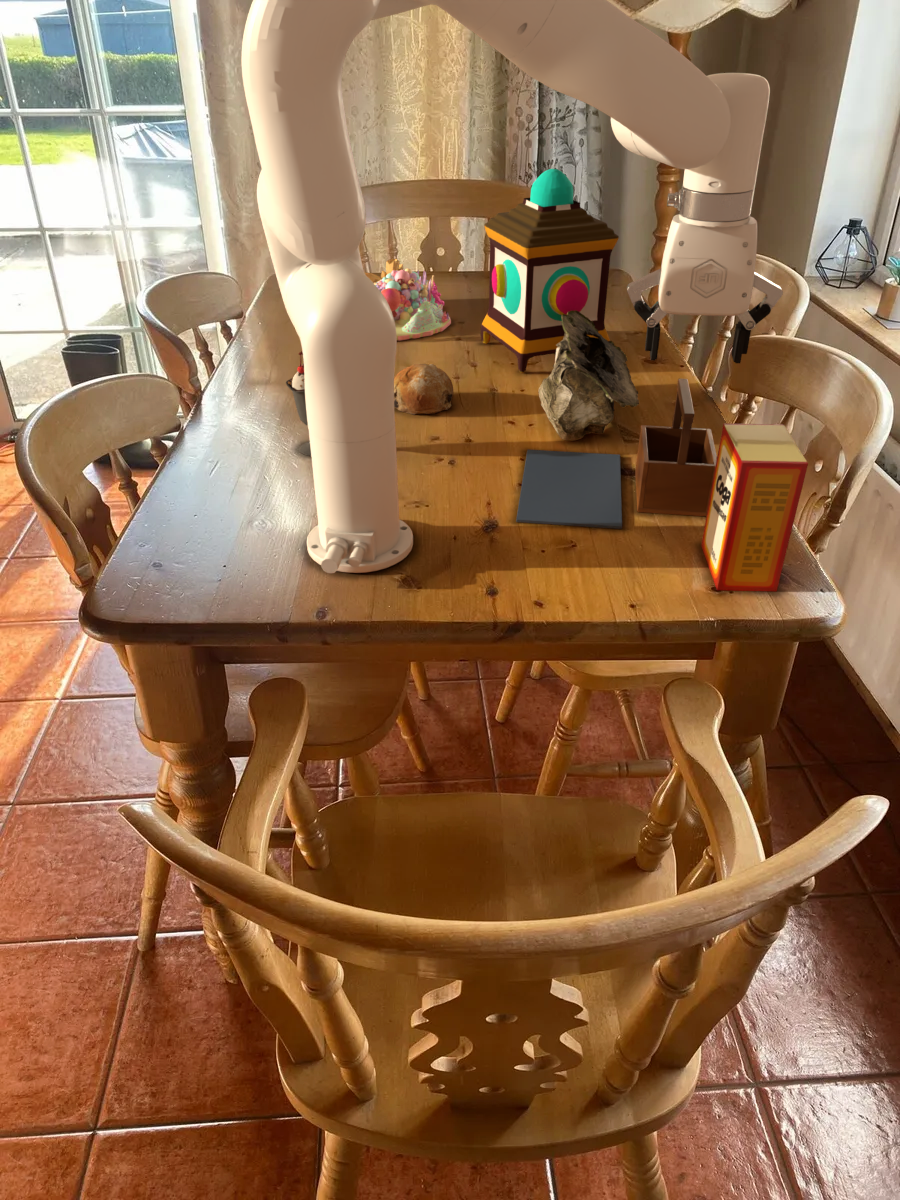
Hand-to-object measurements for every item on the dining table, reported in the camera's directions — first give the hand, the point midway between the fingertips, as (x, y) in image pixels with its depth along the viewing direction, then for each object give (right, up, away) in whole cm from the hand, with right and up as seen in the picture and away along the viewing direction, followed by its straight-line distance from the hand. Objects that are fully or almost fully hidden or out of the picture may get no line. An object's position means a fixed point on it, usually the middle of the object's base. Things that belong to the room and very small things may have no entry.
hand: (694, 358), depth 108 cm
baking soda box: (+4, -25, -4) cm, 26 cm away
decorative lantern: (-12, +15, +54) cm, 58 cm away
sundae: (-48, -7, +22) cm, 53 cm away
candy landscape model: (-40, +26, +70) cm, 85 cm away
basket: (0, -15, +10) cm, 18 cm away
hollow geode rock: (-8, 0, +33) cm, 34 cm away
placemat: (-13, -14, +12) cm, 23 cm away
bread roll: (-34, +2, +35) cm, 49 cm away
